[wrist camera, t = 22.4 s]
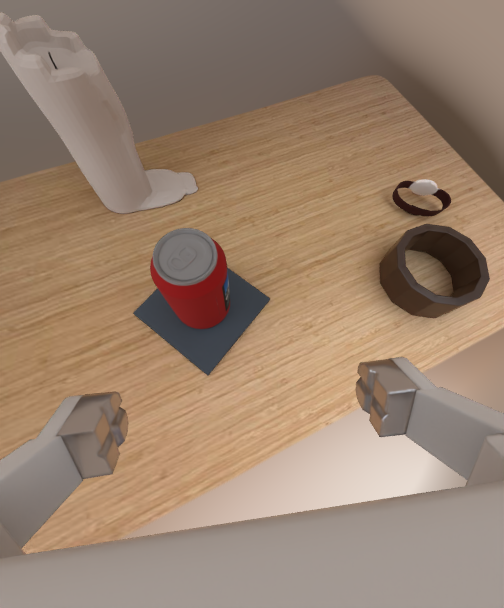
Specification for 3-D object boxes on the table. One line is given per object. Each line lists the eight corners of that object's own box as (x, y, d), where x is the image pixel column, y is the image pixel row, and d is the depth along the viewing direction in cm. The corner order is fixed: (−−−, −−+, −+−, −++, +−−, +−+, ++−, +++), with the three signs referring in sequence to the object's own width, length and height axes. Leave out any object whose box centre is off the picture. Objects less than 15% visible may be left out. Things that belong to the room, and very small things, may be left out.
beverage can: (241, 302, 34) (242, 251, 23) (204, 342, 33) (184, 308, 21) (202, 270, 36) (185, 208, 25) (164, 307, 34) (126, 257, 23)
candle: (201, 200, 40) (166, 20, 22) (103, 218, 39) (-26, 40, 20) (192, 163, 43) (153, -26, 24) (100, 179, 41) (-19, -12, 22)
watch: (442, 200, 42) (459, 182, 39) (439, 224, 40) (457, 207, 37) (392, 186, 43) (405, 167, 39) (387, 209, 41) (400, 191, 38)
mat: (208, 375, 32) (207, 375, 31) (134, 314, 34) (132, 313, 34) (270, 299, 35) (270, 298, 35) (199, 248, 38) (198, 247, 37)
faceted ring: (440, 333, 34) (468, 323, 30) (365, 284, 36) (381, 268, 32) (472, 273, 38) (501, 256, 33) (401, 231, 40) (420, 210, 35)
